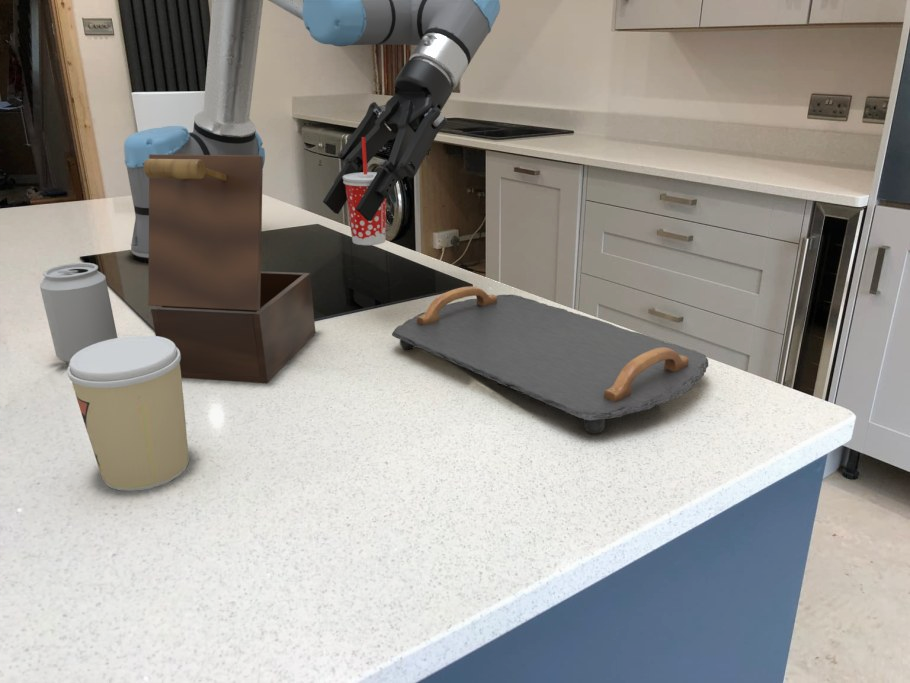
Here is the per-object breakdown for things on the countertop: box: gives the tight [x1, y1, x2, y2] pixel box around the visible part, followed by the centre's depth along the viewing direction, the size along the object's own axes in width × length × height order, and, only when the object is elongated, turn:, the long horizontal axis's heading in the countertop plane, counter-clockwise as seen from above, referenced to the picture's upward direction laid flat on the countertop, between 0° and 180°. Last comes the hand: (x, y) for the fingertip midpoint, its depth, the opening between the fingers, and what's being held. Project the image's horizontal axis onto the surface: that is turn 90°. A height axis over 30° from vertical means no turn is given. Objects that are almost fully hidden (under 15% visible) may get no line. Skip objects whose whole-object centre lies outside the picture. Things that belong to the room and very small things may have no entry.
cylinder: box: [130, 90, 205, 133], centre depth 175 cm, size 17×17×28 cm
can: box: [39, 262, 119, 365], centre depth 94 cm, size 8×8×12 cm
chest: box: [150, 270, 317, 385], centre depth 94 cm, size 17×14×9 cm
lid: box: [144, 154, 264, 311], centre depth 81 cm, size 17×14×8 cm
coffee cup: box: [67, 334, 189, 492], centre depth 68 cm, size 9×9×12 cm
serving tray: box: [391, 285, 709, 436], centre depth 90 cm, size 39×23×6 cm, turn 42°
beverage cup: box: [343, 137, 387, 246], centre depth 99 cm, size 6×6×14 cm
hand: (346, 211), depth 98 cm, fingers closed on beverage cup, 6 cm apart
